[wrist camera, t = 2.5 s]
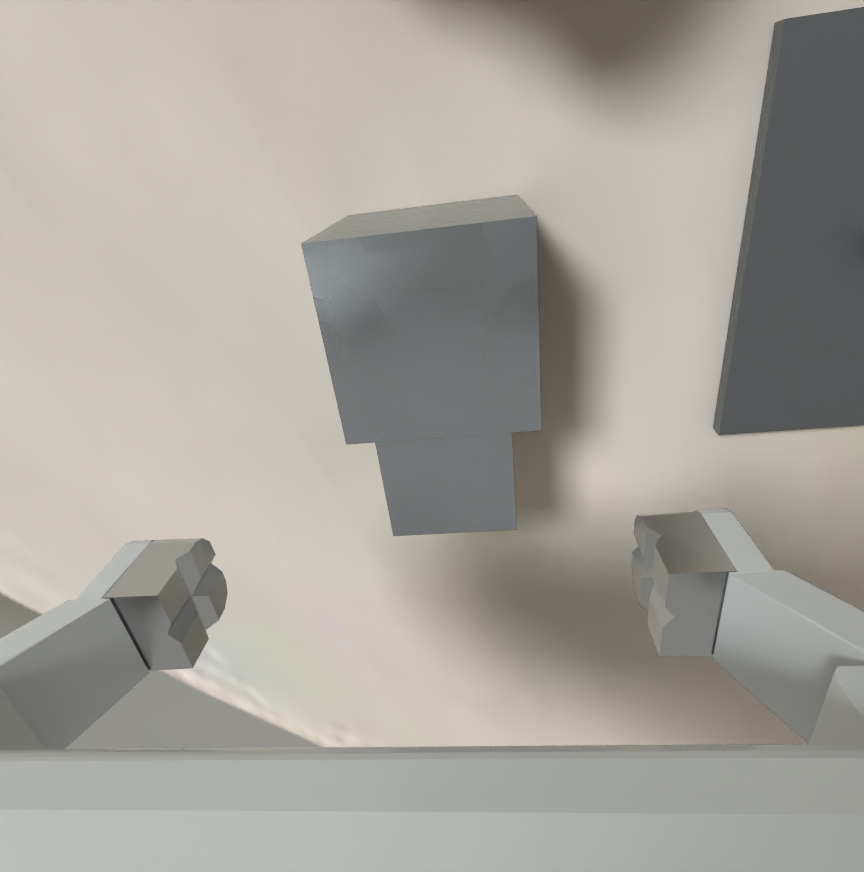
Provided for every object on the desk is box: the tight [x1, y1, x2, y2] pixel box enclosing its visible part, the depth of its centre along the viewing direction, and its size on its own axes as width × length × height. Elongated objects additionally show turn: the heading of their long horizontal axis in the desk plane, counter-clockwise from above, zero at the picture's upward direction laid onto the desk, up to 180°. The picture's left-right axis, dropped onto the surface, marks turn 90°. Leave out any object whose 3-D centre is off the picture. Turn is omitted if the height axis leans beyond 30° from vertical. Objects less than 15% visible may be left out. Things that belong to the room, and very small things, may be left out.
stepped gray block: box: [301, 195, 541, 536], centre depth 19 cm, size 10×6×6 cm, turn 7°
